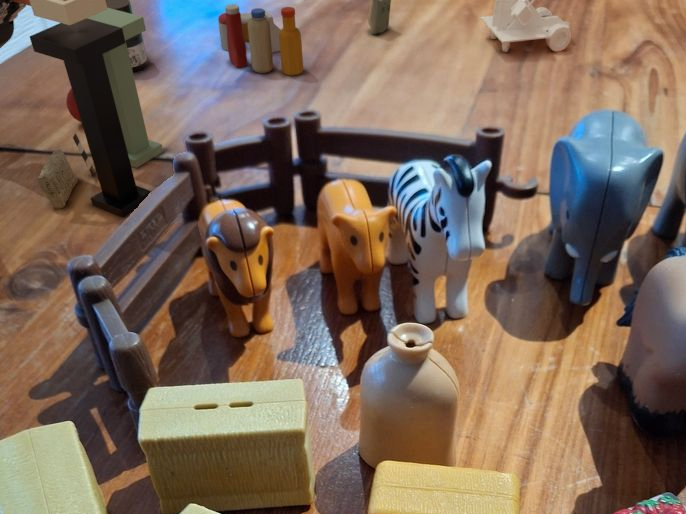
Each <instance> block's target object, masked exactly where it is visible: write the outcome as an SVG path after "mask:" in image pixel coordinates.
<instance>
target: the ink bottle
mask: <svg viewBox="0 0 686 514" xmlns="http://www.w3.org/2000/svg"><path fill="white" fill-rule="evenodd" d="M105 1H106V5H107V8H111V9H115V10H118V11H122V12H126V13H130V14H134V13H133V9H132V4H131V1H130V0H105ZM126 45H127V49H128V54H129V58H130V62H131V67H132V71H133V73H135V72H138V71H141V70H144V68H146V67H147V65H148V61H149V60H148V55H147V51H146V47H145V42H144V38H143V32H142V33H140V34H138V35H135V36H133V37H131V38H129V39H127V40H126Z"/></svg>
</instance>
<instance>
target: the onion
mask: <svg viewBox="0 0 686 514" xmlns="http://www.w3.org/2000/svg"><path fill="white" fill-rule="evenodd" d="M66 108H67V110H68V112H69V114H70V115H71V117H72V118H73V119H75V120H76V121H77V122H80V123H82V122H81V118H80V115H79V112H78V108H77V105H76V102H75V98H74V95H73V91H72V88H70V89H69V91H68V93H67V96H66Z"/></svg>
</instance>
